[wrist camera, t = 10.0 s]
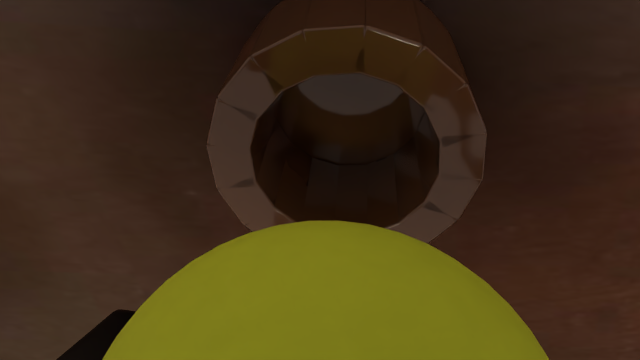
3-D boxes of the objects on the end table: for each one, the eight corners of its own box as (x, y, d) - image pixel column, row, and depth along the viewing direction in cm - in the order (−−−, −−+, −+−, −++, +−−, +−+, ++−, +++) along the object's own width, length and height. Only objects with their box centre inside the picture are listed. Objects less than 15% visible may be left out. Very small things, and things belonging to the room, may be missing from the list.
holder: (467, -32, 16) (498, 15, 12) (456, 178, 20) (476, 262, 16) (221, -13, 17) (179, 37, 13) (258, 185, 21) (234, 266, 17)
